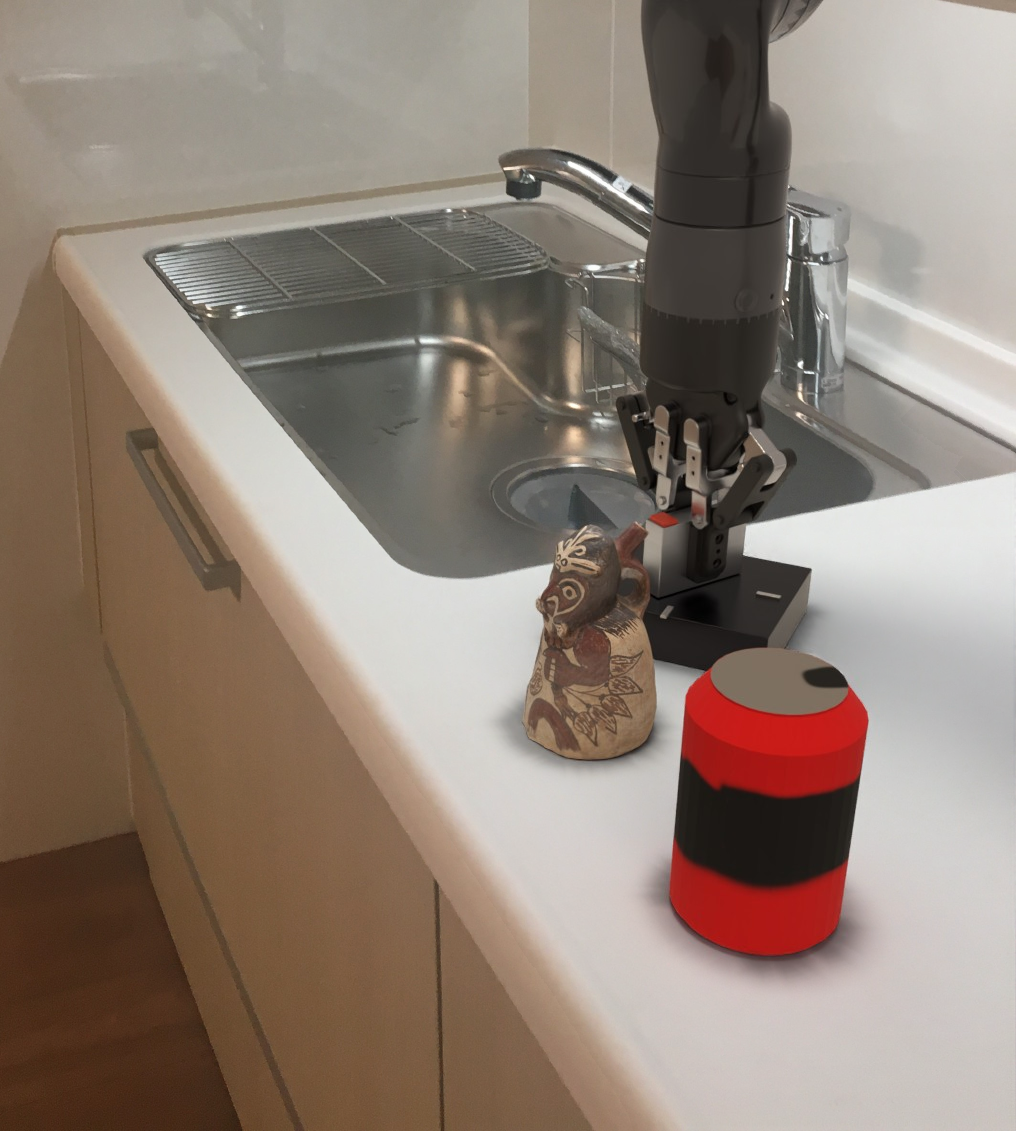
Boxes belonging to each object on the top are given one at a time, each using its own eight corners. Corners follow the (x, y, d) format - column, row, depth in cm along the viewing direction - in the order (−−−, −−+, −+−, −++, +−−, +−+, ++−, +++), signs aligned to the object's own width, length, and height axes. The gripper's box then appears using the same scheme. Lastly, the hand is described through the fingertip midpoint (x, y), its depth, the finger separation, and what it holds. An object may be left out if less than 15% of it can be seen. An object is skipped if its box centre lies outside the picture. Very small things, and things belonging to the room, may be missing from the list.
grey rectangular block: (724, 563, 96) (730, 491, 94) (741, 572, 95) (749, 500, 93) (640, 588, 93) (645, 515, 91) (658, 598, 92) (663, 524, 90)
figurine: (511, 696, 88) (516, 505, 83) (632, 687, 89) (645, 496, 84) (540, 765, 82) (548, 562, 77) (671, 754, 82) (687, 552, 77)
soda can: (865, 954, 68) (902, 721, 63) (695, 966, 68) (717, 732, 62) (805, 850, 75) (833, 632, 69) (649, 861, 74) (666, 642, 69)
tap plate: (808, 608, 97) (814, 563, 95) (761, 686, 88) (766, 638, 87) (624, 571, 102) (626, 527, 101) (563, 641, 94) (566, 594, 93)
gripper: (855, 311, 82) (820, 600, 90) (683, 256, 93) (665, 517, 101) (746, 337, 79) (719, 634, 87) (582, 276, 90) (571, 544, 98)
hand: (690, 570), depth 94 cm, fingers closed on grey rectangular block
